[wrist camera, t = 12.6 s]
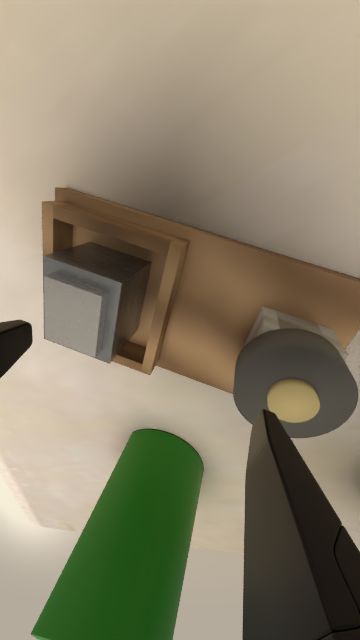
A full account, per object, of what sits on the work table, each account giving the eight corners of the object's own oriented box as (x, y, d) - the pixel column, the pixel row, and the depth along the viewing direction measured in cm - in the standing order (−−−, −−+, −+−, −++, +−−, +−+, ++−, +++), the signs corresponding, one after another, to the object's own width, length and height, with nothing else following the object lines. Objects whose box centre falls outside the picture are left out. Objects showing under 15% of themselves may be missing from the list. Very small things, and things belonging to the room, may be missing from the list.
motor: (113, 437, 31) (-62, 750, 14) (171, 419, 27) (30, 823, 10) (161, 490, 33) (64, 812, 16) (219, 480, 30) (176, 889, 12)
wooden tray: (294, 407, 23) (303, 450, 19) (62, 322, 25) (28, 345, 21) (378, 284, 17) (416, 311, 13) (65, 187, 19) (19, 186, 15)
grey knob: (303, 391, 20) (321, 461, 15) (225, 364, 21) (217, 421, 16) (348, 325, 17) (392, 383, 12) (256, 294, 18) (258, 336, 12)
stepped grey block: (138, 329, 22) (103, 370, 16) (84, 309, 22) (35, 344, 17) (151, 262, 19) (115, 287, 14) (90, 241, 19) (32, 258, 14)
